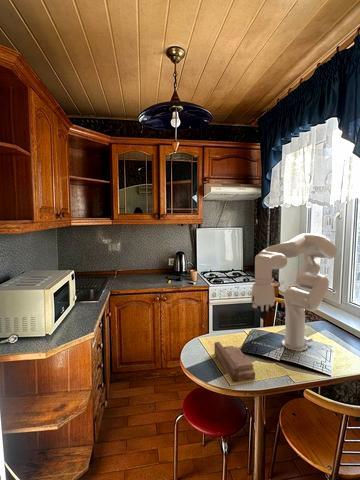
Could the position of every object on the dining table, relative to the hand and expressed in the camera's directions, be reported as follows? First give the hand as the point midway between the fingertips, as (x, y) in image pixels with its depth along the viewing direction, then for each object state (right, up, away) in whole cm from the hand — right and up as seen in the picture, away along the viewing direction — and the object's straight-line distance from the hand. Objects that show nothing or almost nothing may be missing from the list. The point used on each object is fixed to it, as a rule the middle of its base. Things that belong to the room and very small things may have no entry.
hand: (263, 318), depth 127 cm
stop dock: (-14, -22, -1) cm, 25 cm away
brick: (-12, -22, 0) cm, 25 cm away
